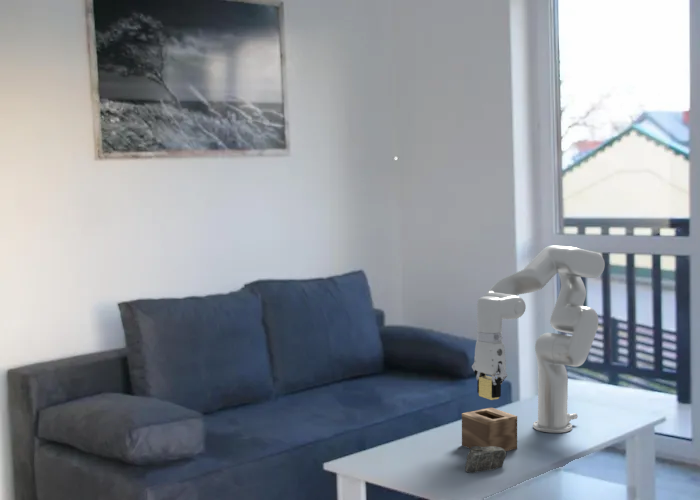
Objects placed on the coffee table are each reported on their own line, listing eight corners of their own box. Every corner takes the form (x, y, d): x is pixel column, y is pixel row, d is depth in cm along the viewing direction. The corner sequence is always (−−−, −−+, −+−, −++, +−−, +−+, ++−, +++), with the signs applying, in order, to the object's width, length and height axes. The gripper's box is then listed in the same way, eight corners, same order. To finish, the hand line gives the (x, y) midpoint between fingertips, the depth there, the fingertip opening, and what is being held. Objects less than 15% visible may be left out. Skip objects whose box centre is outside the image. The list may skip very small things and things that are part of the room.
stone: (483, 473, 270) (498, 443, 270) (498, 484, 264) (514, 454, 264) (451, 462, 262) (467, 431, 262) (466, 473, 256) (482, 441, 256)
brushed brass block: (486, 394, 284) (486, 375, 283) (499, 398, 279) (499, 379, 278) (478, 395, 282) (478, 376, 282) (491, 400, 277) (491, 380, 276)
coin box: (491, 438, 290) (491, 407, 289) (517, 448, 280) (517, 416, 279) (461, 445, 284) (461, 413, 283) (486, 455, 274) (487, 422, 273)
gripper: (517, 340, 273) (517, 399, 275) (480, 331, 288) (480, 387, 290) (498, 342, 269) (498, 402, 271) (462, 334, 284) (461, 390, 286)
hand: (488, 394), depth 280 cm, fingers closed on brushed brass block, 5 cm apart
